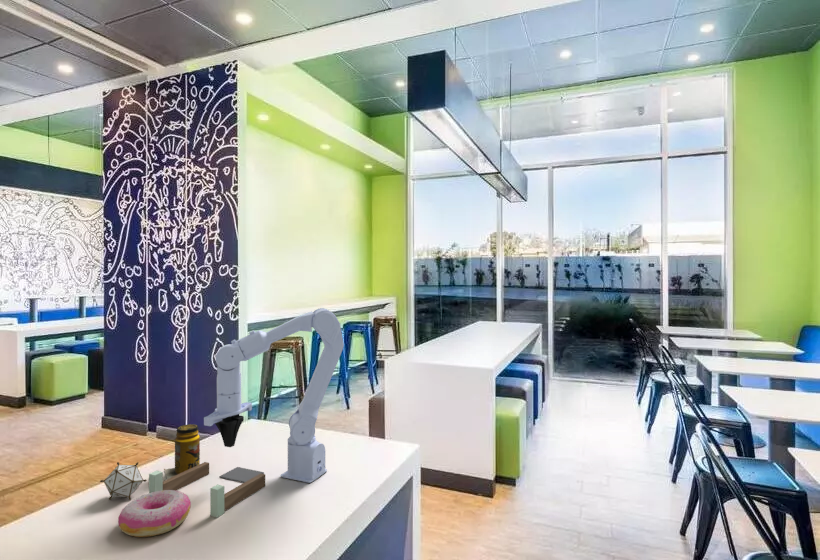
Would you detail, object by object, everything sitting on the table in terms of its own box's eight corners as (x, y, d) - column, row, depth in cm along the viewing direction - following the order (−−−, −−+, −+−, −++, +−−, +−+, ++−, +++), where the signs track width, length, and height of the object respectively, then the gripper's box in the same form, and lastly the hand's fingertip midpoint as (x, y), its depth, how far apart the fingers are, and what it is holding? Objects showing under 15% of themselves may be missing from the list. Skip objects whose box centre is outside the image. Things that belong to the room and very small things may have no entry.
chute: (266, 486, 114) (267, 462, 114) (217, 517, 100) (217, 489, 99) (203, 472, 122) (203, 450, 122) (149, 499, 108) (148, 473, 108)
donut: (145, 507, 104) (145, 485, 104) (202, 508, 104) (202, 486, 104) (102, 541, 91) (102, 515, 91) (168, 543, 90) (168, 517, 90)
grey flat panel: (263, 473, 122) (263, 472, 122) (246, 483, 116) (246, 482, 116) (237, 467, 126) (237, 466, 126) (219, 477, 120) (219, 476, 120)
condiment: (203, 473, 122) (203, 428, 122) (167, 480, 118) (167, 434, 118) (198, 463, 128) (198, 421, 128) (164, 470, 124) (164, 426, 124)
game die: (122, 516, 107) (104, 495, 101) (105, 495, 111) (87, 473, 105) (158, 487, 112) (143, 465, 106) (140, 468, 116) (125, 446, 110)
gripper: (237, 384, 125) (237, 434, 125) (194, 398, 111) (194, 454, 111) (258, 387, 122) (258, 438, 122) (216, 400, 109) (217, 458, 109)
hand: (229, 446), depth 117 cm, fingers closed
